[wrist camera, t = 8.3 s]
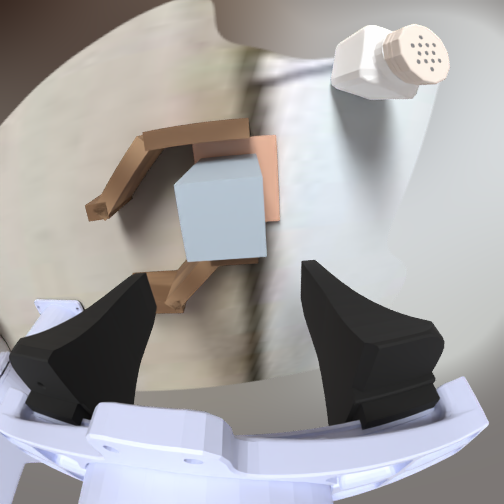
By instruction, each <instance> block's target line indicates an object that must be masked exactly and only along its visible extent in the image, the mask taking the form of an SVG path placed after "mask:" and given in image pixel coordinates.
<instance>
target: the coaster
mask: <svg viewBox="0 0 504 504" xmlns="http://www.w3.org/2000/svg"><path fill="white" fill-rule="evenodd" d="M192 146H193V155H194V163H195V164H196V163H197V162H198V161H199V160H200V159H201V158H210V157H220V156H230V155H243V154H256V155H257V159H258V162H259V166H260V169H261V173H262V177H263V194H264V212H265V222H267V221H280V217H279V189H278V165H277V145H276V135H263V136H250V138H244V139H231V140H221V141H211V142H203V143H195V144H192Z"/></svg>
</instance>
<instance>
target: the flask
mask: <svg viewBox="0 0 504 504" xmlns="http://www.w3.org/2000/svg"><path fill="white" fill-rule="evenodd" d="M7 351H8V352H10V350H9V348H8V346H7V344H6V342H5V341H4V340H3V339H2V337H1V336H0V353H1V352H7ZM10 353H11V352H10Z"/></svg>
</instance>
